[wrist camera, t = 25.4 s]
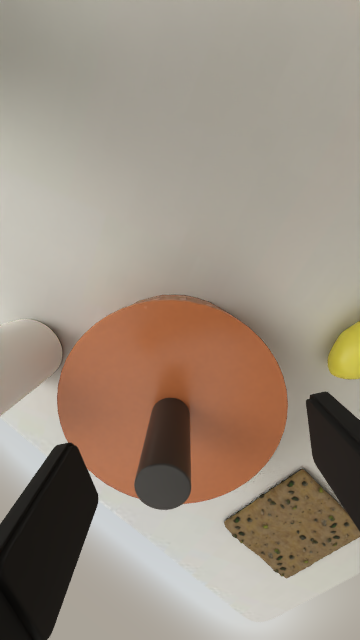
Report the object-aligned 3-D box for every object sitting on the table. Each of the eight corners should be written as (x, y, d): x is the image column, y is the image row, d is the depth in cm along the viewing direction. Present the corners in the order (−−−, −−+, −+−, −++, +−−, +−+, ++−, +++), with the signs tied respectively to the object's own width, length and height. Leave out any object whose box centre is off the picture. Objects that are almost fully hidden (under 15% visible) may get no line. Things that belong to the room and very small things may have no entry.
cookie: (284, 575, 29) (288, 586, 28) (221, 521, 27) (223, 531, 26) (365, 528, 26) (372, 538, 26) (302, 466, 25) (307, 474, 24)
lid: (30, 329, 17) (-74, 370, 10) (261, 270, 16) (319, 272, 9) (104, 506, 21) (64, 622, 14) (296, 473, 20) (355, 584, 13)
